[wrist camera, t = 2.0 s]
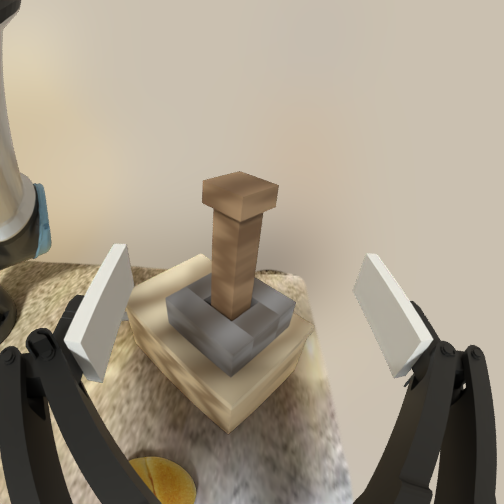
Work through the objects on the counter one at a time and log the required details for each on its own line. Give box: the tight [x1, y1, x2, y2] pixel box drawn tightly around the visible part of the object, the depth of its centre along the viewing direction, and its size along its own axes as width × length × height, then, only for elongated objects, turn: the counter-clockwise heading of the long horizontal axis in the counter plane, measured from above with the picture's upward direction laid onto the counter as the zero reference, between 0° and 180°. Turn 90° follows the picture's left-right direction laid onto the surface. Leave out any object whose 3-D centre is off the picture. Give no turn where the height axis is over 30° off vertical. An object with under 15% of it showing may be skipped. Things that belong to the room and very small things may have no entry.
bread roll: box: [129, 457, 196, 504], centre depth 20 cm, size 8×9×4 cm
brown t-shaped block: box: [202, 171, 279, 321], centre depth 27 cm, size 4×4×17 cm
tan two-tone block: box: [126, 254, 314, 434], centre depth 35 cm, size 21×15×14 cm
